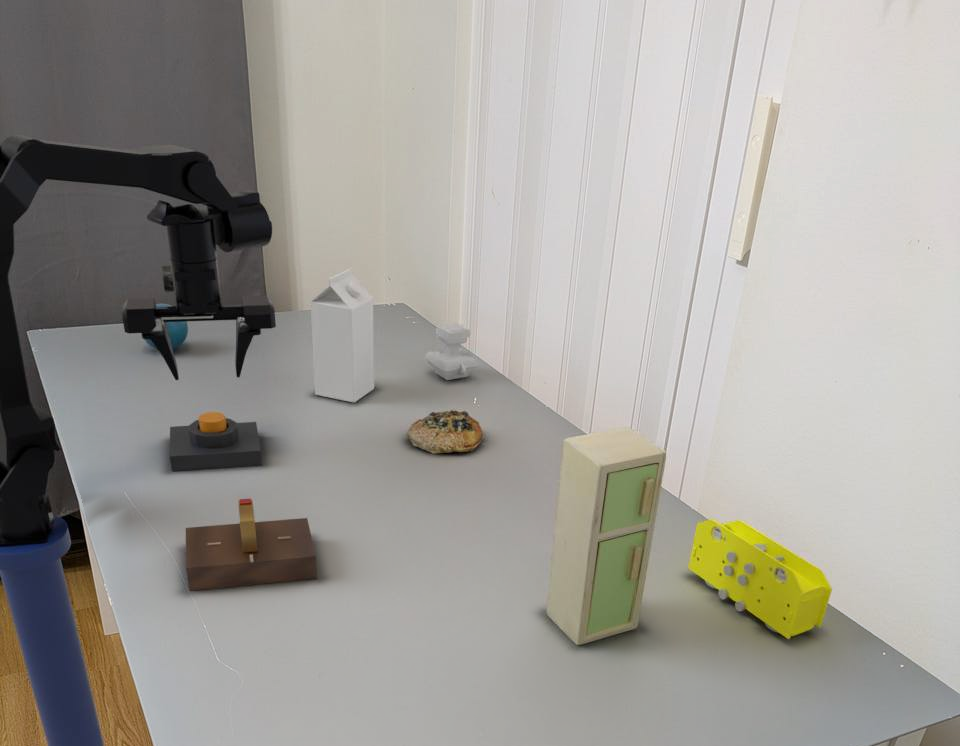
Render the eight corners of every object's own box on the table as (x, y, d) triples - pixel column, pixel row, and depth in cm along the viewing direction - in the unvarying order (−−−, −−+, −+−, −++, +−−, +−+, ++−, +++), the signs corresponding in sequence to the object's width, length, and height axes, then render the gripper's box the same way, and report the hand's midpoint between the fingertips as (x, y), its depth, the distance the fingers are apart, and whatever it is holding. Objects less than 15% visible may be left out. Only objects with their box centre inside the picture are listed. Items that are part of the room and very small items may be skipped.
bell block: (171, 471, 128) (167, 443, 126) (172, 440, 136) (168, 414, 134) (262, 465, 131) (259, 438, 129) (257, 435, 139) (255, 410, 136)
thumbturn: (257, 551, 106) (254, 518, 104) (243, 552, 106) (239, 519, 103) (255, 530, 110) (252, 497, 108) (241, 531, 110) (237, 498, 107)
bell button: (200, 434, 129) (198, 422, 128) (199, 424, 132) (198, 412, 131) (227, 433, 130) (226, 421, 129) (226, 422, 133) (224, 411, 132)
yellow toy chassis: (683, 575, 112) (696, 512, 107) (719, 563, 114) (733, 502, 110) (783, 646, 101) (802, 580, 96) (820, 632, 103) (840, 567, 99)
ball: (144, 343, 169) (137, 298, 164) (190, 341, 171) (185, 297, 166) (142, 358, 163) (134, 312, 158) (190, 357, 164) (184, 310, 160)
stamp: (421, 370, 164) (422, 322, 159) (454, 365, 167) (456, 317, 163) (447, 388, 158) (449, 338, 153) (481, 381, 161) (483, 332, 156)
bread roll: (464, 419, 147) (466, 390, 143) (494, 457, 139) (497, 428, 136) (397, 431, 143) (397, 402, 139) (425, 471, 135) (426, 441, 132)
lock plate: (189, 591, 104) (185, 567, 102) (188, 549, 111) (185, 526, 110) (317, 579, 107) (315, 555, 106) (308, 539, 115) (307, 516, 113)
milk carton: (314, 395, 152) (308, 275, 142) (336, 381, 158) (332, 264, 147) (354, 403, 150) (350, 282, 140) (374, 389, 156) (372, 271, 145)
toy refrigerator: (579, 651, 98) (603, 467, 87) (543, 614, 104) (561, 436, 92) (642, 633, 102) (673, 453, 90) (604, 598, 107) (629, 424, 95)
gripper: (264, 240, 127) (273, 354, 136) (118, 242, 123) (137, 360, 131) (271, 262, 118) (280, 382, 127) (113, 265, 114) (134, 389, 122)
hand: (207, 377), depth 127 cm, fingers open, 8 cm apart
